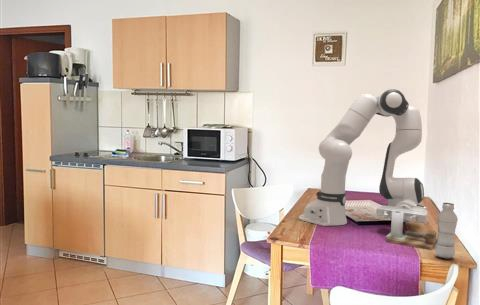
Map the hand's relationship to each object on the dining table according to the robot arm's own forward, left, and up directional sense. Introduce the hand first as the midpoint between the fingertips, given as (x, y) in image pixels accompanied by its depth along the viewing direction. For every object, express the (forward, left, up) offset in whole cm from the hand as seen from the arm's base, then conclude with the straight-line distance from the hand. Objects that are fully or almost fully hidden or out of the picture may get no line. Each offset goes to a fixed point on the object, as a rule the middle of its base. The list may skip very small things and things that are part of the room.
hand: (397, 217), depth 177 cm
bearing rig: (+6, +1, -9) cm, 11 cm away
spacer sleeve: (0, +1, -8) cm, 8 cm away
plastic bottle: (+20, -11, -9) cm, 25 cm away
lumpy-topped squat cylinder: (-15, +62, -9) cm, 65 cm away
